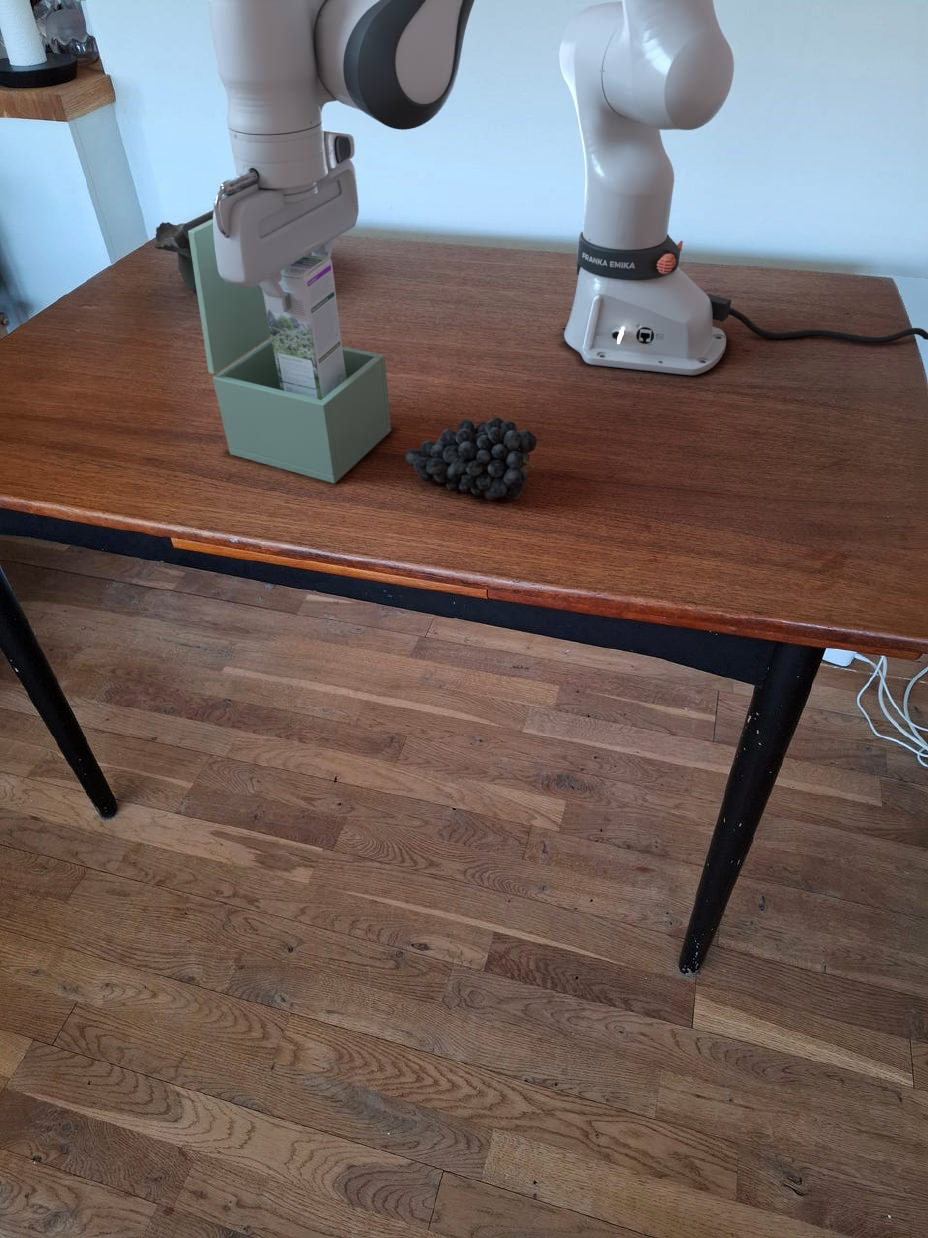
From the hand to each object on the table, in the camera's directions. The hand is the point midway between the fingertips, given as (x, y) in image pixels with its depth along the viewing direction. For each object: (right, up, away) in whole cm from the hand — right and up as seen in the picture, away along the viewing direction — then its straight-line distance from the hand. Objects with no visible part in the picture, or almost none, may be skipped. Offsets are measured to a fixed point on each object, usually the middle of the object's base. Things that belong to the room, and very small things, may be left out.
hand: (301, 297), depth 94 cm
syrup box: (0, -8, +7) cm, 11 cm away
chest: (-1, -13, +13) cm, 18 cm away
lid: (-7, +2, +3) cm, 8 cm away
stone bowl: (-18, +21, +51) cm, 58 cm away
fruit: (+18, -19, +5) cm, 27 cm away
